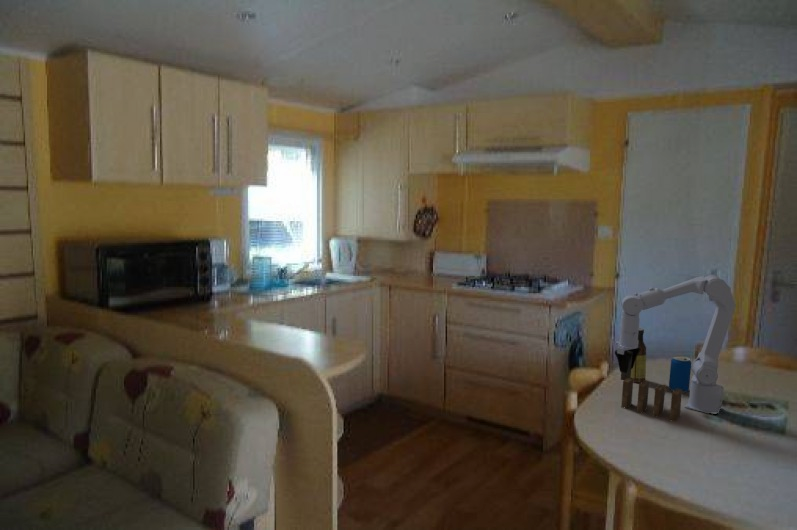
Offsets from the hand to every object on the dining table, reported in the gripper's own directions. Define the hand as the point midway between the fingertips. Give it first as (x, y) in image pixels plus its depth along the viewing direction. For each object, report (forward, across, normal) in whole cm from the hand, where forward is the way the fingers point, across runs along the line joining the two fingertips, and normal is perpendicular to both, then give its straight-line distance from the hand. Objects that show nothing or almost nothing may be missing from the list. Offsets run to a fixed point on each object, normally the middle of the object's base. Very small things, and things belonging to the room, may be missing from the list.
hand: (626, 370), depth 192 cm
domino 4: (+10, +6, +13) cm, 17 cm away
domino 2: (+10, +6, +3) cm, 12 cm away
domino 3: (+10, +6, +8) cm, 14 cm away
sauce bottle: (+10, -21, -3) cm, 24 cm away
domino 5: (+10, +6, +18) cm, 21 cm away
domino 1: (+3, 0, 0) cm, 3 cm away
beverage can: (+10, -21, +12) cm, 26 cm away
